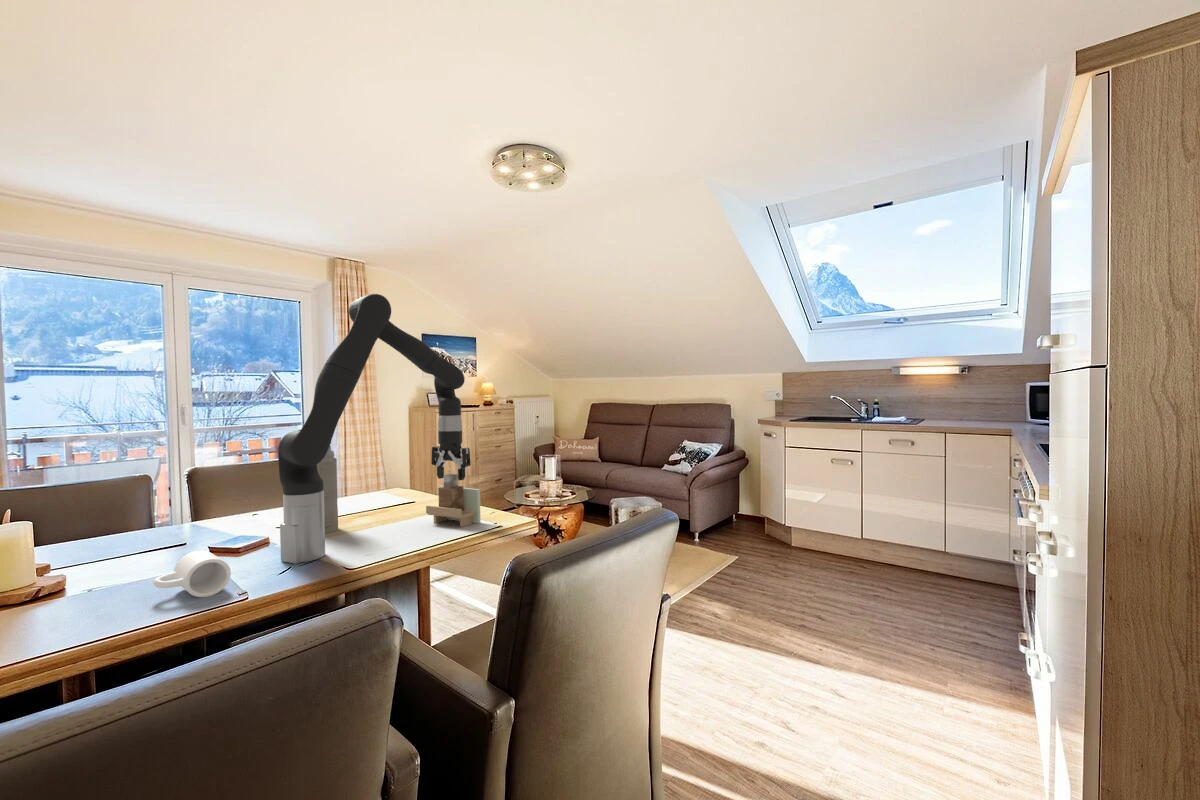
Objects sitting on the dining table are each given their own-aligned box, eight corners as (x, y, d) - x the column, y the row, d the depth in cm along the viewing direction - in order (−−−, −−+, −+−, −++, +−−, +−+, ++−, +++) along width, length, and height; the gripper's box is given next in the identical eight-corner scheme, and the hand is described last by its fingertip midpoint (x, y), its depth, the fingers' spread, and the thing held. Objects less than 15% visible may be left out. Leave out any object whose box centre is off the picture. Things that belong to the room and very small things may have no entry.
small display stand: (462, 529, 160) (462, 494, 160) (424, 524, 167) (423, 490, 167) (480, 522, 168) (479, 489, 168) (442, 518, 175) (442, 485, 174)
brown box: (452, 514, 163) (452, 476, 163) (438, 512, 166) (437, 475, 166) (463, 510, 168) (463, 473, 168) (449, 508, 171) (448, 472, 170)
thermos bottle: (308, 535, 156) (306, 443, 155) (310, 529, 163) (308, 441, 162) (337, 531, 159) (335, 441, 158) (338, 525, 166) (336, 439, 166)
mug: (218, 580, 119) (216, 546, 118) (231, 591, 112) (230, 554, 112) (149, 597, 109) (148, 560, 109) (160, 609, 103) (159, 570, 103)
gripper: (425, 429, 166) (426, 479, 166) (459, 430, 160) (460, 482, 160) (441, 428, 173) (442, 476, 173) (475, 429, 167) (476, 478, 167)
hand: (451, 479), depth 167 cm, fingers open, 8 cm apart
